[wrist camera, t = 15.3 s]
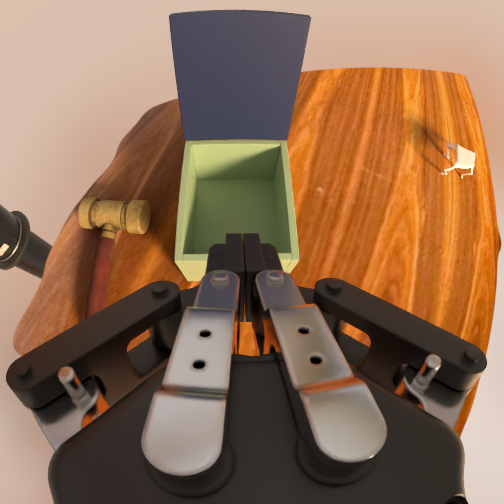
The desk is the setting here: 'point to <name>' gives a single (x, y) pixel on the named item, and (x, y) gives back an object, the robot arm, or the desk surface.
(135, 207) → the gavel
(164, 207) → the desk surface
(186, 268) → the box
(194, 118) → the lid
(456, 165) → the miniature stool
